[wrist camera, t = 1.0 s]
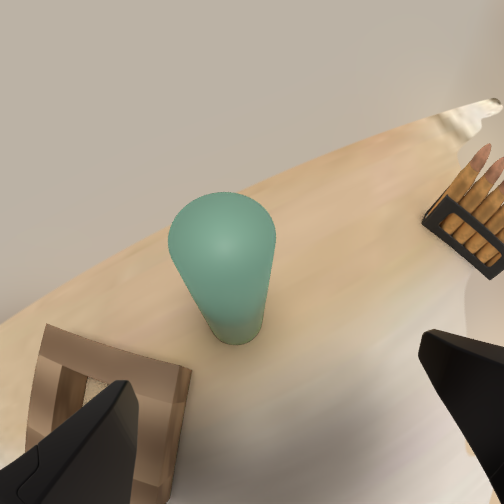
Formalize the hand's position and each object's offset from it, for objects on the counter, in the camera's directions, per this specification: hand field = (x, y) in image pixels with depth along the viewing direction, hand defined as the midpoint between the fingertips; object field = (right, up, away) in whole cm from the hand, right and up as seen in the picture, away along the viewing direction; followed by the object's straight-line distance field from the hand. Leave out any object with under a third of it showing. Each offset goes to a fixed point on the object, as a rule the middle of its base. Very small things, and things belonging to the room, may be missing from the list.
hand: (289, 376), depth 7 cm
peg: (-2, -2, +14) cm, 15 cm away
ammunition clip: (+21, +4, +18) cm, 28 cm away
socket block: (-12, -9, +10) cm, 18 cm away
